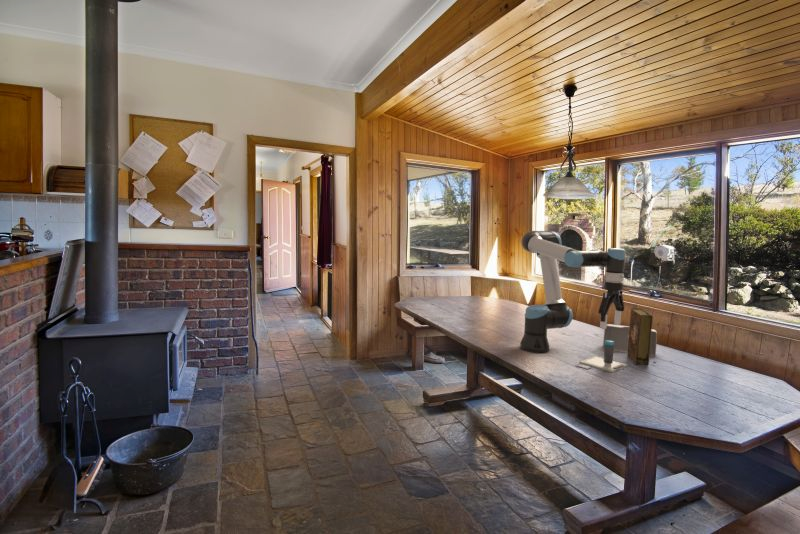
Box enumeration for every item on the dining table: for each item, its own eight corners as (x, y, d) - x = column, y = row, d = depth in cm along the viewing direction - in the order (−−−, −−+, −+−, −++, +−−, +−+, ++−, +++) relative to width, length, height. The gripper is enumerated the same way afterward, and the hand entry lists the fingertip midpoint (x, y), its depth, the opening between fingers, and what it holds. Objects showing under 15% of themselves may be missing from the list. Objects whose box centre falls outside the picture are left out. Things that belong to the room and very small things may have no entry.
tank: (654, 349, 246) (656, 327, 244) (655, 357, 232) (657, 333, 230) (604, 342, 257) (606, 321, 256) (602, 349, 243) (604, 327, 242)
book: (626, 355, 234) (630, 308, 231) (637, 356, 233) (641, 308, 230) (636, 365, 218) (640, 314, 215) (648, 366, 217) (653, 315, 214)
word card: (575, 365, 215) (575, 365, 215) (579, 364, 218) (579, 363, 217) (587, 369, 210) (587, 368, 210) (591, 367, 213) (591, 366, 213)
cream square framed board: (579, 363, 219) (579, 360, 219) (595, 357, 229) (595, 354, 228) (612, 372, 207) (612, 369, 207) (627, 366, 216) (627, 363, 216)
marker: (601, 365, 213) (603, 341, 212) (605, 364, 216) (607, 339, 214) (609, 368, 210) (611, 343, 209) (614, 366, 213) (615, 341, 211)
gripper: (608, 284, 198) (605, 331, 200) (634, 280, 213) (630, 324, 216) (592, 282, 203) (589, 328, 206) (618, 278, 219) (615, 321, 222)
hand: (610, 326), depth 211 cm, fingers open, 13 cm apart
